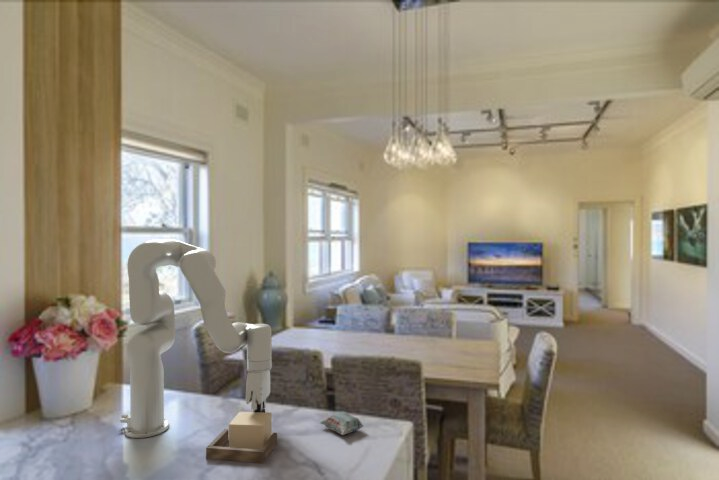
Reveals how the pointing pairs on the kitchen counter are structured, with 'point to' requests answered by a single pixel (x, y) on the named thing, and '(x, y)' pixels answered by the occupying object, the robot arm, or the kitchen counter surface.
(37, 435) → the kitchen counter surface
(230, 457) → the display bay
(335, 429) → the packaged food
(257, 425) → the carton
